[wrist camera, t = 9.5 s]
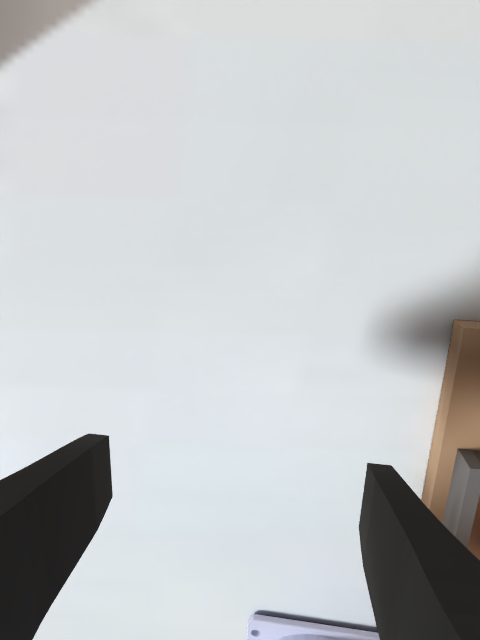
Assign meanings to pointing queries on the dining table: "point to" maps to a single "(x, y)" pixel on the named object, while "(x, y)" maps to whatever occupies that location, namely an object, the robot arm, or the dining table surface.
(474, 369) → the gear board
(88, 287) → the dining table surface
